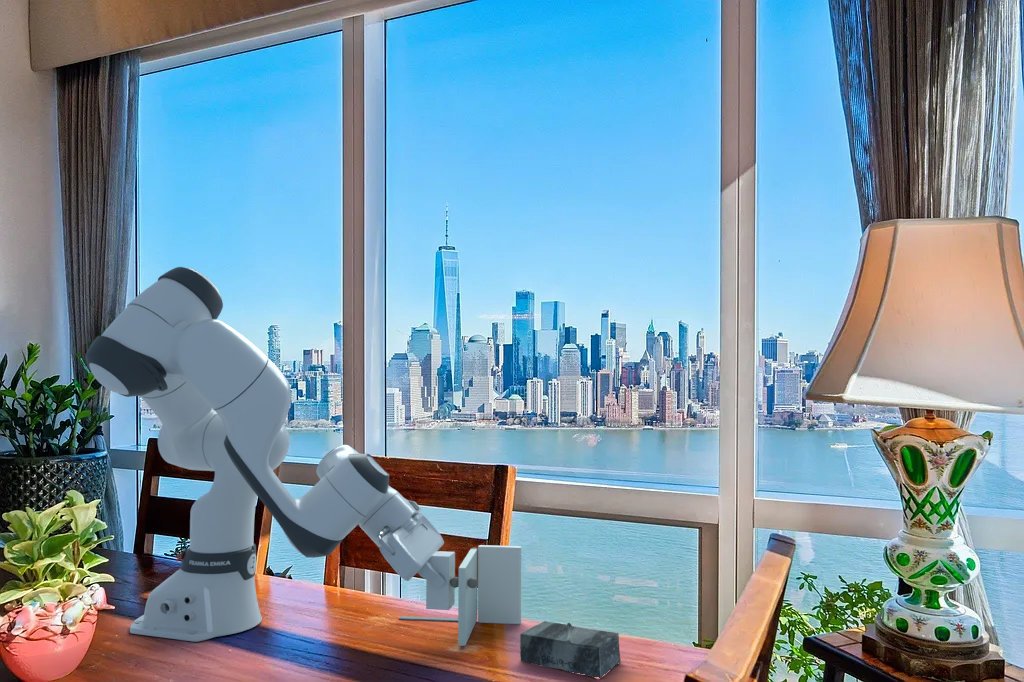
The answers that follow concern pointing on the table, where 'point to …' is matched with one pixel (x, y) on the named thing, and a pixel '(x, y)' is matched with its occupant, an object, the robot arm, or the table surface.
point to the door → (467, 595)
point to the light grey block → (446, 593)
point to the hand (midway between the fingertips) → (445, 580)
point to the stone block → (570, 648)
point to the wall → (495, 586)
